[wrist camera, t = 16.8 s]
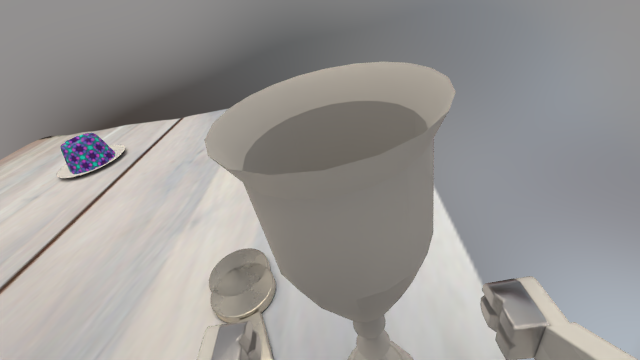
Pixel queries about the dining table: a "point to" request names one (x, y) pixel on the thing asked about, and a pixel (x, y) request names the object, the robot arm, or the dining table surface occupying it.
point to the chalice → (342, 183)
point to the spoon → (244, 291)
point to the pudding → (86, 155)
